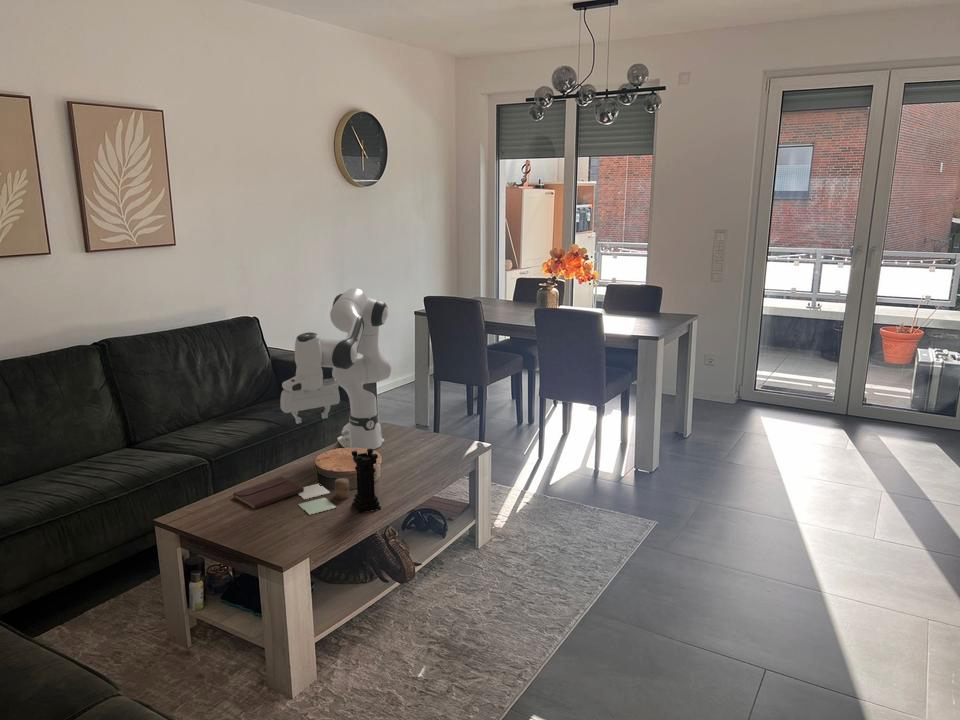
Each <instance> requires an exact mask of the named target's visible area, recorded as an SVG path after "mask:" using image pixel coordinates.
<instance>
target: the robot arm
mask: <svg viewBox="0 0 960 720" xmlns="http://www.w3.org/2000/svg"><path fill="white" fill-rule="evenodd" d="M388 313H389V309H388V305H387V304H386V302H384V301H383V300H380V299H375V298H372V297H368V296H367V295H366V293H365V292H364V291H363V290H362V289H360V288H356V287H351V288H349V289H347V290H346V291H344V292H342V293H339V294H338V295H336V296H335V297H334V300H333V302H332V306H331V310H330V313H329V317H330V321H331V323H332V325H333V326H334V327H335V328H336V329H337V330H339V331H340V332H343V333H347V336H346V338H344V339H330V338H329V339H327V338H322V337H321V338H320V336H319V334H318V333H316V332H311V331H309V332H303V333H301V334H299V335H297V336H296V338H295V342H294V362H295V364H296V368H295V369H296V371H295V375H294V376H293V377H291V378H289V379H287V380H285V381H283V382H282V383H281V387H282V388H283V390H282V391H281V393H280V410H281V411H282V412H283V413H284V414H289V413H291V415H292V416H293V417H294V418H295V424H297V425H299V424H302V423H303V421H302V418H301V417H300V416H298V414H299V412H300V411H305V410H311V409H318V408H324V411H323V412H321V418H322V419H323V420H326V419H328V417H329V412H330V409H331V406H335V405H338V404H340V401H341V397H340V391H339V387H341V388H342V389H344V391H345V392H346V394H347V395H348V399H349V406H350V413H348V414H349V415H348V417H349V418H348V419H349V420H348V422H347V424H346V425H344V426H343V427H342V430H341V435H340V436H338V437H337V441H338V442H339V444H340V445H341V447H342V448H343V447H361V448H368V449H371V448H372V449H373V450H377V449H379V448H380V447H381V446H382V445H383V444H384V443H385V438H383V437H382V436H383V435H382V427H381V423H378V422H379V415H378V413H377V409H378V408H377V398H376V395H375V394H374V393H372V392H371V391H368V390H365V389H364V385H366V384H372V383H378V382H382V381H385V380H387V379H389V378H390V377H391V375H392V368H393V367H392V364H391V362H390V360H389V359H388V358H387V357H386V356H384V355H383V354H382V353H381V351H380V348H379V333H380V331H379V330H380V326H382V325H384V324H385V323H386V321H387V318H388V315H389V314H388ZM358 354H360V355H362V357H360V358H358ZM322 367H324V368H332V370H331V374H332V375H331V376H332V377H330V378H324V373H323V372H324V371H323V369H322Z"/></svg>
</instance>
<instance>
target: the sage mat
mask: <svg viewBox="0 0 960 720" xmlns="http://www.w3.org/2000/svg"><path fill="white" fill-rule="evenodd" d="M298 505H299V506H298ZM298 505H297V506H298V507H299V508H301V509H302V510H303V511H304V510H305V511H306V512H307V513H308V514H309V516H312V515H311V514H314V515H316V514H315V513H317V514H320V513H319V512H321V513H324V512H323V511H325V512H327V510H328V511H331V509H332V510H335V508H336V509H337V506H336V505H335V504H334V503H332V502H331V501H330V500H329V499H327V498H326V497H321V498H320V497H319V498H317V499H313V500H310V501H309V500H308V501H307V502H301V503H299V504H298ZM305 511H304V512H305ZM306 512H305V513H306ZM307 513H306V514H307ZM308 514H307V515H308Z"/></svg>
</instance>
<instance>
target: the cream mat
mask: <svg viewBox="0 0 960 720" xmlns="http://www.w3.org/2000/svg"><path fill="white" fill-rule="evenodd" d="M319 484H320V483H315V484H311V485H307V486H302V487H303V488H304V491H303V492H300V493H298V494H297V495H298V496H299V497H300V496H301V497H300V498H302V500H304V501H305V499H306V500H309V498H310V499H314V498H317V497H322V496H325V495H329V494H331V491H329V490H328V489H327V488H326V487H324V486H323V485H322V486H320V485H321V484H320V485H319ZM321 495H322V496H321ZM313 497H314V498H313Z"/></svg>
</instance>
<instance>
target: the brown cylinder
mask: <svg viewBox="0 0 960 720" xmlns="http://www.w3.org/2000/svg"><path fill="white" fill-rule="evenodd" d="M334 494H335V495H334V496H335V497H334V498H336V499H337V500H345V499H349V498H350V479H348V478H344V477H343V478H341V477H340V478H337V479H335V480H334Z"/></svg>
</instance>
